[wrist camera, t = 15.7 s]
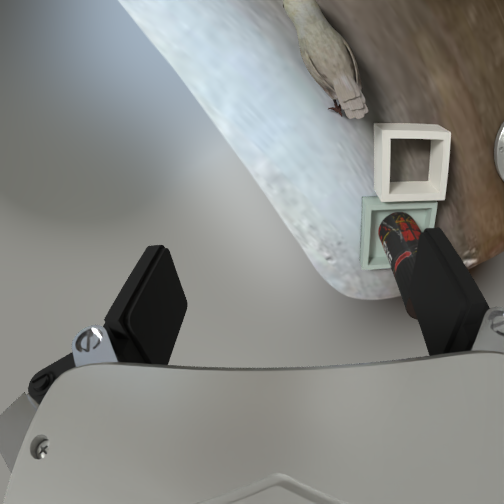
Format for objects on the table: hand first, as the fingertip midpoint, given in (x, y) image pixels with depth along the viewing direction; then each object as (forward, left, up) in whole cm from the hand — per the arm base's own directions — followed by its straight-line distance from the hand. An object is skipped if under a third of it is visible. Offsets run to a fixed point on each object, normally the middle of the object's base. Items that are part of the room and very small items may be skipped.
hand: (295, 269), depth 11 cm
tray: (-14, +17, -30) cm, 37 cm away
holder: (-15, +6, -30) cm, 34 cm away
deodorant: (-14, +17, -30) cm, 37 cm away
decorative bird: (-5, -8, -31) cm, 32 cm away
